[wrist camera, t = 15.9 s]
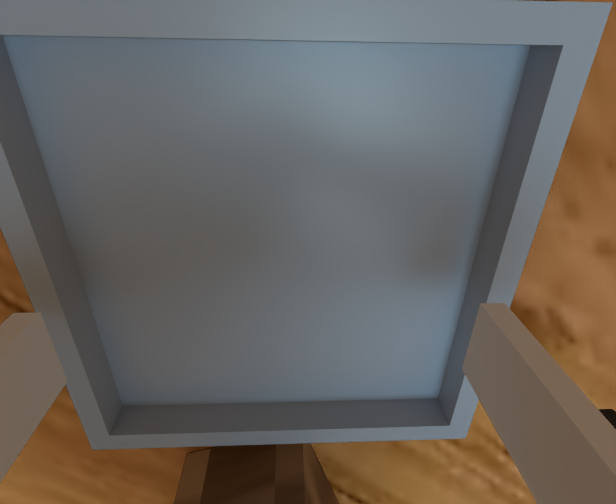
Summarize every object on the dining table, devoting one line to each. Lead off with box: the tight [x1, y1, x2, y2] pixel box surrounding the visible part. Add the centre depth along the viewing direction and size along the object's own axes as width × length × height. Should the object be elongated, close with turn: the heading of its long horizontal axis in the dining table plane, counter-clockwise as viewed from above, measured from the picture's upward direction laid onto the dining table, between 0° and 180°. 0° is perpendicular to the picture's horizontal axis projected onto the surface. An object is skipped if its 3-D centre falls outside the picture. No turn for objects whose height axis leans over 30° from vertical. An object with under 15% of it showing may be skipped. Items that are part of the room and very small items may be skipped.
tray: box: [0, 0, 613, 450], centre depth 15 cm, size 18×18×2 cm
